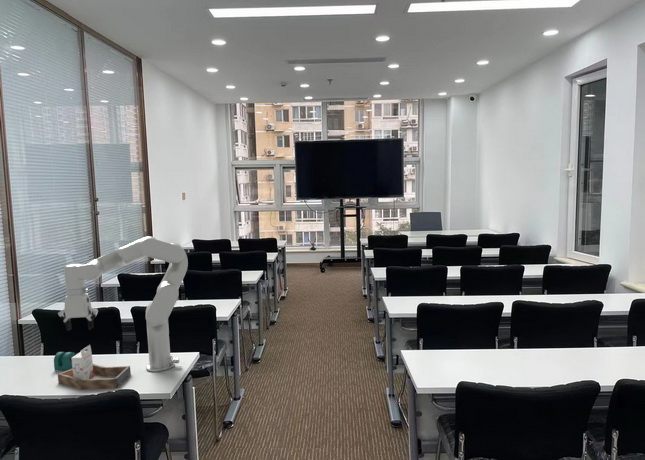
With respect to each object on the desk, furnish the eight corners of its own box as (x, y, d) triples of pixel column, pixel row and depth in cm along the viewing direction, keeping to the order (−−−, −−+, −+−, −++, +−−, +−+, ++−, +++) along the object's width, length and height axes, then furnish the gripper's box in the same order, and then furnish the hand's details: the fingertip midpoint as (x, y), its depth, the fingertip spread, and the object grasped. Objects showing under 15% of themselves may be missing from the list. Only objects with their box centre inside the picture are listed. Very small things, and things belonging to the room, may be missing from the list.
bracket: (67, 371, 216) (65, 355, 216) (54, 370, 217) (53, 354, 217) (91, 357, 234) (90, 342, 233) (80, 357, 235) (78, 342, 234)
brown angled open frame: (136, 369, 215) (135, 360, 215) (116, 388, 194) (116, 379, 194) (73, 371, 215) (72, 363, 214) (47, 391, 194) (46, 382, 193)
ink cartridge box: (83, 375, 210) (80, 344, 208) (94, 375, 210) (91, 344, 208) (73, 383, 201) (70, 351, 200) (84, 383, 201) (81, 350, 200)
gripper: (99, 289, 206) (103, 325, 207) (61, 291, 205) (65, 328, 207) (91, 292, 198) (95, 331, 200) (51, 295, 198) (55, 333, 199)
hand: (80, 329), depth 203 cm, fingers open, 9 cm apart
